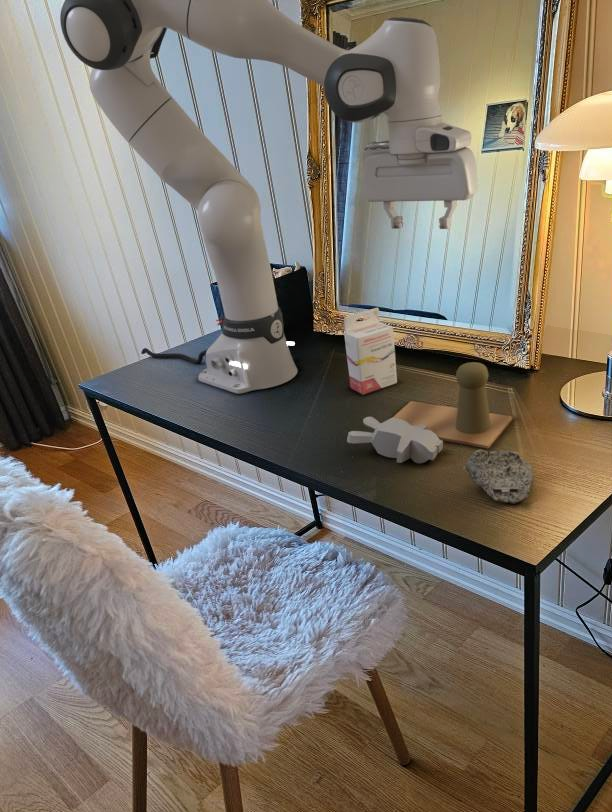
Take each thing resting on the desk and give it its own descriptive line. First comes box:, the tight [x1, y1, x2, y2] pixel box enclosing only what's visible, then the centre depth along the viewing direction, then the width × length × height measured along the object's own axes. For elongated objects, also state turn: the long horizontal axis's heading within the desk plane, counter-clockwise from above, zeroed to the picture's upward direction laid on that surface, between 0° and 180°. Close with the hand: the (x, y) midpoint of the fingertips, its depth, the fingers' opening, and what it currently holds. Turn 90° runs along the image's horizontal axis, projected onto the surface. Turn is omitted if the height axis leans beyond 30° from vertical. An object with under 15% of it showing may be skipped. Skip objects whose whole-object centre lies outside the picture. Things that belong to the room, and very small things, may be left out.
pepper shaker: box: [455, 361, 491, 434], centre depth 109 cm, size 6×6×11 cm
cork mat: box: [392, 400, 514, 450], centre depth 114 cm, size 20×11×1 cm, turn 59°
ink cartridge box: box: [343, 307, 398, 395], centre depth 127 cm, size 9×5×15 cm, turn 122°
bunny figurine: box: [346, 416, 444, 464], centre depth 107 cm, size 10×5×15 cm
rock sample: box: [462, 449, 535, 505], centre depth 94 cm, size 10×8×9 cm
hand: (420, 228), depth 114 cm, fingers open, 8 cm apart
